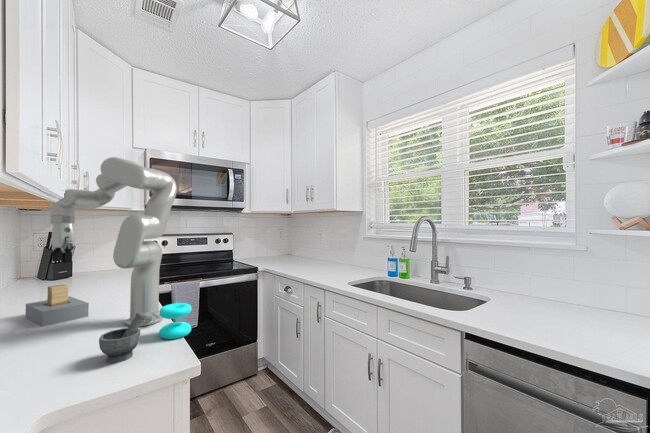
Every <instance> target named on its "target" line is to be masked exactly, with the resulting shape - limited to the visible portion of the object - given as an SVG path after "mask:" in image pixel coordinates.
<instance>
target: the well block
mask: <svg viewBox="0 0 650 433" xmlns="http://www.w3.org/2000/svg"><path fill="white" fill-rule="evenodd" d="M89 308H90V307H89V302H87V301H84V300H81V299H79V298H75V297H73V296H70V295H68V303H67V304H62V305H56V306H51V307H48V306H47V299H46V300H45V299H44V300H40V301H35V302H28V303H25V318H26V319H28V320H30V321H31V322H33V323H35V324H36V325H39V326H40V327H43V328H44V327H48V326H51V325H52V326H53V325H56V324H60V323H65V322H69V321H74V320H78V319H82V318H86V317H87V318H88V317H89Z"/></svg>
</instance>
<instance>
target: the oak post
mask: <svg viewBox="0 0 650 433" xmlns="http://www.w3.org/2000/svg"><path fill="white" fill-rule="evenodd" d="M68 297H69V285H67V284H56V285H51V286H47V299H46V300H47V306H48V307H51V306H56V305H62V304H67V303H68Z"/></svg>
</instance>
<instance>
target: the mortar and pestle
mask: <svg viewBox="0 0 650 433" xmlns="http://www.w3.org/2000/svg"><path fill="white" fill-rule="evenodd" d="M145 317H146V315H145V314H143V313H136V317H135V318H134V320H133V321H132V323H131V324H130V326H127V327H125V328H124V327H122V328H118V329H114V330H109V331H107V332H105V333H103V334H101V335H100V337H99V338H98V345H99V350H100V351H101V353H102V354H104V355H106V356H107V357H106V362H107V363H109V364H115V363H118V364H119V363H121V362H125V361H127V360H130V359H131V358H133V355H134V354H133V351H134V350H135V348H136V347H137V346H138V344H139V341H140V337H141V329H140V327H141V326H140V324H141V322H142V320H143V319H144V318H145Z"/></svg>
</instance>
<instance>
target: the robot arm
mask: <svg viewBox="0 0 650 433" xmlns="http://www.w3.org/2000/svg"><path fill="white" fill-rule="evenodd" d="M99 170H100V173H99V174H98V175H97V177H96V178H95V183H96V185H97V187H98V189H96V190H94V191H93V190H86V189H85V190H83V189H73V188H72V189H71V188H70V189H64V190H65V193H64V198H62V199H60V200H59V201H58V202H56V203H55V202H51V201H49V202H50V210H49V211H50V213H49V215H50V217H49V225H52V228H51V246H52V250H51V251H52V255H51V257H52V262H61V263H63V264H65V263H72V262H73V248H74V247H75V246H76V242H75V240H76V239H75V236H76V235H75V226H74V225H75V220H76V219H75V215H76V213H75V212H76V211H75V210H76V209H90V210H92V209H99V208H101V207H103V206H105V205H107V204H109V203H110V202H112V201H113V199H114V197H115V195H116V193H117V192H118V191H121V190H122V189H124V188H126V187H129V188H133V189H136V190H145V191H152V192H154V193H153V194H152V195H151V196H150V197H149V198H148V200H147V202H146V206H145V210H144V211H143V213H142V214H141V213H140V214H139V213H138V214H137V213H135V214H131V215H129V216H127V217H125V219H124V220H123V221H122V223H121V225H120V228H119V231H118V234H117V238H116V242H115V245H114V250H113V253H112V254H113V256H112V258H113V262H114V264H115V265H116V266H117V267H118V268H120V269H123V270H125V269H133V270H132V272H131V276H130V297H129V299H130V300H129V301H130V302H129V305H130V307H129V318H127V319H126V320H125V321H124V325H125V326H127V327H129V326H130V324H131V323H132V321H133V320H134V318H135V317H136V313H143V314H145V315H146V317H145V318H144V319H143V320H142V322H141V324H140V326H139V327H144V326H145V327H146V326H149V325H155V324H157V323H159V322H161V321H162V320H163V319H164V318H163V317H161V316H160V314H159V311H160V307H159V306H160V305H159V304H160V302H159V301H160V300H159V299H160V297H159V296H160V267H161V264H162V263H161V262H162V257H163V249H162V247H161V245H160V244H159V243H158V242H156V241H152V240H153V239H159V238H161V237H162V236H163V235H164V233H165V230H166V228H167V223H168V220H169V217H170V215H171V210H172V206H173V204H174V202H175V199H176V196H177V191H178V186H177V183H176V181H175V179H174V177H172V176H171V175H170V174H168V172H164V171H162V170H159V169H156V168H155V169H154V168H150V167H148V166H147V167H146V166H143V165H140V164H139V163H136V162H135V161H132V160H128V159H124V158H120V157H116V156H115V157H114V156H111V157H108V158H105V160H103V161H102V163H101V164H100V169H99Z"/></svg>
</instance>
